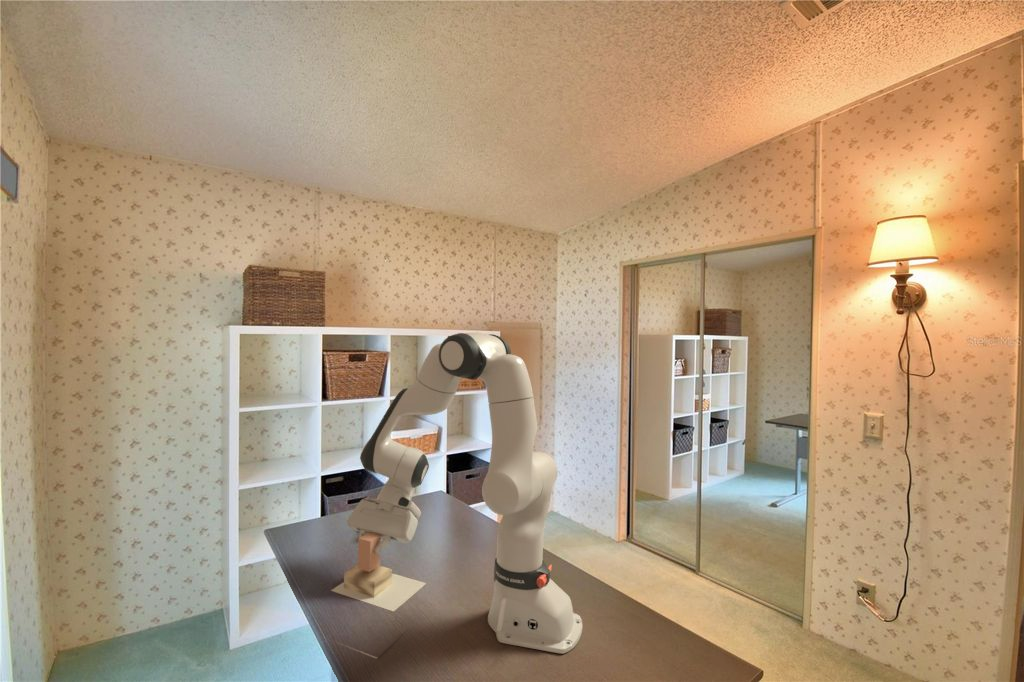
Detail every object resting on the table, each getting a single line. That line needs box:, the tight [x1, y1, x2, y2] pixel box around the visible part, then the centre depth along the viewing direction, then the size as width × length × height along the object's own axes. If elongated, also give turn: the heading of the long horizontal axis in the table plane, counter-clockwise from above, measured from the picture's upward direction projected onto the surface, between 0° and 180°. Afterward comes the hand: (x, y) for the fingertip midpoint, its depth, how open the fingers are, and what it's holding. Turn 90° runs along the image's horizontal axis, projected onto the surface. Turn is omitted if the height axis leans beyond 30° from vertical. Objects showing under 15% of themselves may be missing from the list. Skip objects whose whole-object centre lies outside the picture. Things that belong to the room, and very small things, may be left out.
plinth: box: [343, 563, 393, 597], centre depth 121 cm, size 10×7×4 cm
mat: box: [330, 572, 427, 612], centre depth 121 cm, size 20×14×1 cm
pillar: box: [357, 533, 382, 572], centre depth 121 cm, size 4×4×8 cm
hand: (367, 551), depth 121 cm, fingers closed on pillar, 4 cm apart
